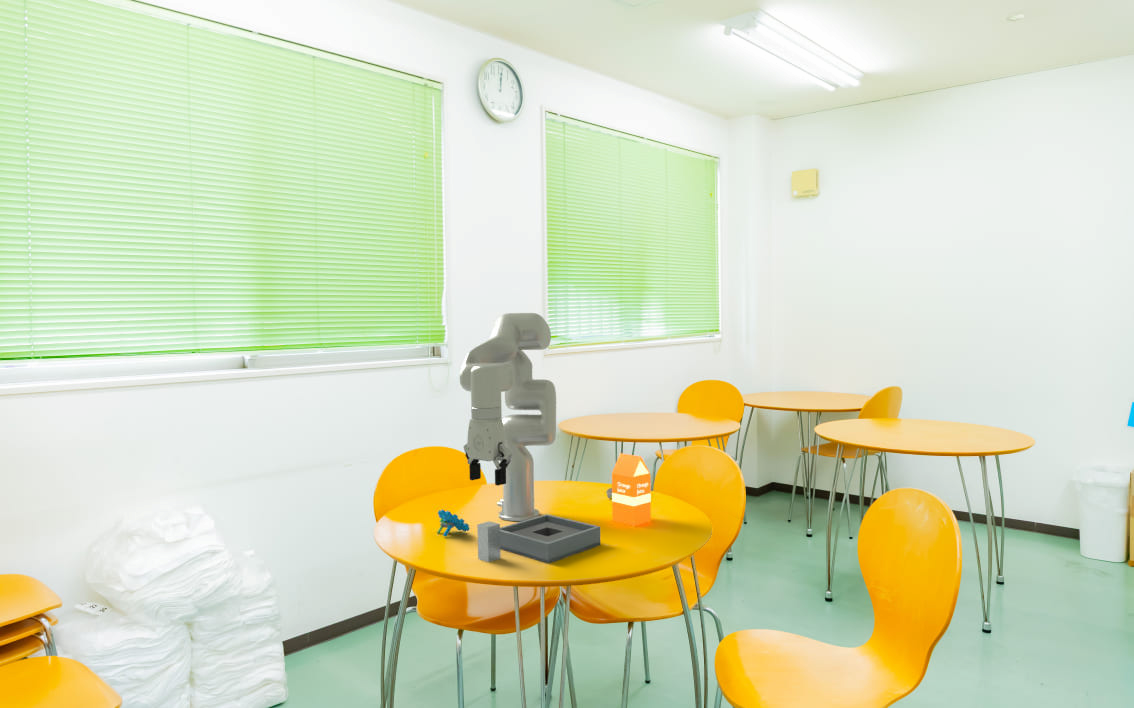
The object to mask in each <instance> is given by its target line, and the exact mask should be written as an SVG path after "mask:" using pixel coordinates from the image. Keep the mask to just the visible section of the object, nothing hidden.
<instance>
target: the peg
mask: <svg viewBox="0 0 1134 708" xmlns="http://www.w3.org/2000/svg"><path fill="white" fill-rule="evenodd" d="M476 527H477V558H478V559H477V560H480V561H483V562H487V563H491V562H493V561H497V560H500V559H501V556H502V555H501V549H500V528H501V524H500V523H497V522H494V521H485V522H481V523H479V524H477V526H476Z"/></svg>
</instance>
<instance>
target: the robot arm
mask: <svg viewBox="0 0 1134 708" xmlns="http://www.w3.org/2000/svg"><path fill="white" fill-rule="evenodd" d="M551 340H552V334H551V329H550V326H549V324H548V322H547V321H546V320H545V318H544V317H543V316H542V315H540V314H538V313H535V312H524V313H523V312H515V313H514V312H512V313H509V312H508V313H504V314H502V315H500V316H499V317H497V319H496V320H495V323H494V326H493V328H492V331H491V333H490V337H489V339H487V340H486V341H484V342H482V343H480V344H479V345H477V346H476V347H475V346H474V347H473V348H472V349H471V350H469V351H468V352H467V354H466V355H465V358H464V360H463V363H462V366H461V368H460V372H459V383H460V386H461V387H462V389H463V390H465V391H466V392H470V400H471V405H470V406H471V411H470V412H471V418H470V419H469V421H468V422H469V423H468V429H467V440H466V442H467V443H465V444H464V445H463V450H464V453H465V458H466V459H467V464H468V465H469V466H468V467H469V480H470V481H475V480H481V477H482V475H481V471H482V469H481V465H482V464H481V463H480V461H483V462H484V461H485V462H493V464H494V465H495V467H496V469H494V486H503V487H502V488H503V489H502V490H503V491H502V492H503V498H501V499H500V500H499V501H497V502H496V505H497V507H501V510H500V511H499V512H498V517H499V519H501V520H504V521H510V522H521V521H525V520H528V519H532V518H535V517H539V516H540V511H539V509H536V508H535V474H534V472H535V471H534V470H535V469H534V468H535V467H534V465H535V463H534V457H533V455H532V454H531V452H530V451H529V449H528V448H527V447H529V446H535V447H536V446H539V447H541V446H543V447H545V446H550V445H552V444H554V442H555V441H556V436H557V392H556V386H555V384H554V383H553V382H552V381H551V380H548V379H534V378H533V363H532V361H531V359H530V357H528V355H527V354H526V353H525V351H526V350H527V351H528V350H529V351H533V350H535V351H539V350H540V351H542V350H546V349H547V348H549V346H550V344H551ZM502 392H504V403H505V405H506V407H507V408H508V409H509V410H513V411H514V410H515V411H539V412H540V413H541V414H528V413H527V414H521V413H520V414H519V413H518V414H508V415H506V416H504V417H502V416H503V415H502Z"/></svg>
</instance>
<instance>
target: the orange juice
mask: <svg viewBox="0 0 1134 708" xmlns="http://www.w3.org/2000/svg"><path fill="white" fill-rule="evenodd" d="M611 488H612V499H611V503H612V504H611V505H612V506H611V507H612V508H611V509H612V512H611V513H612V516H611V517H612V521H613V522H615V521H616V522H615V523H619V522H620V523H619V524H622V523H625V524H624V525H626V524H628V525H627V526H630V525H632V526H631V527H637V526H636V525H638V526H640V525H639V524H641V525H643V524H642V523H644V524H646V523H645V522H648V523H650V522H649V521H651V522H652V512H651V511H652V509H651V506H652V504H651V503H652V502H651V501H652V499H651V498H652V497H651V496H652V495H651V493H652V492H651V473H650V471H649V469H648V467H647V464H646V463H645V461H644V458H643V457H642V456H640V455H632V454H627V453H619V455H618V458H617V460H616V462H615V466H614V467H613V470H612V472H611Z"/></svg>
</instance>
